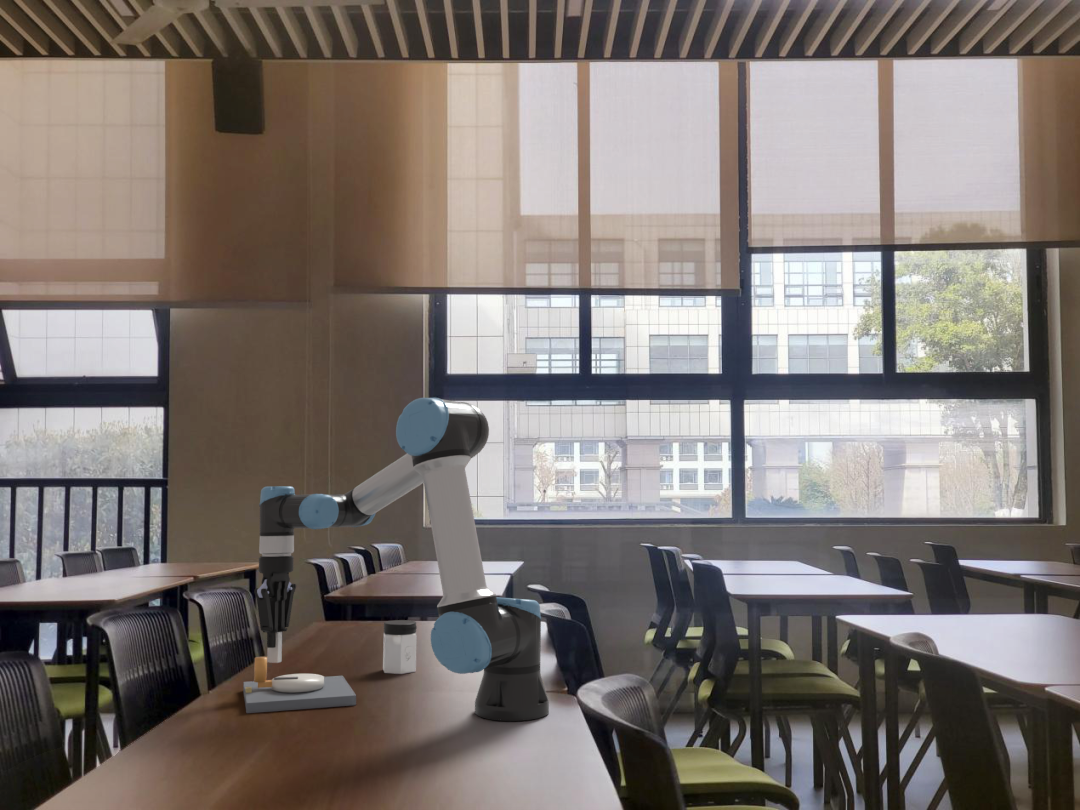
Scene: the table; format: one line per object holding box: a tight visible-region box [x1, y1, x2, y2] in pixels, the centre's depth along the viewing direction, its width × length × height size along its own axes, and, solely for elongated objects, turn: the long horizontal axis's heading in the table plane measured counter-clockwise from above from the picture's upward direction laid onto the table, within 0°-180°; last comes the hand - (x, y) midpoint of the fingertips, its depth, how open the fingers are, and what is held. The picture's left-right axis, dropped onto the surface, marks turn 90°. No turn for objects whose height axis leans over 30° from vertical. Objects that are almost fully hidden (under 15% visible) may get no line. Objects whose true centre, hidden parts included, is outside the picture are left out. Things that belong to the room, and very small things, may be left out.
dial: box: [253, 656, 325, 692], centre depth 199 cm, size 15×11×6 cm
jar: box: [382, 619, 418, 675], centre depth 229 cm, size 9×8×12 cm
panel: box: [242, 675, 357, 714], centre depth 198 cm, size 22×22×3 cm
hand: (274, 661), depth 203 cm, fingers closed
